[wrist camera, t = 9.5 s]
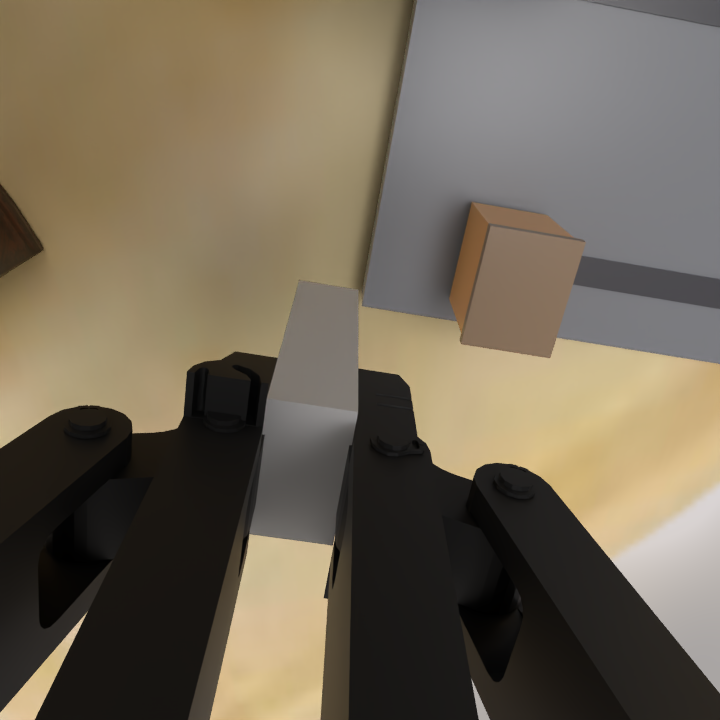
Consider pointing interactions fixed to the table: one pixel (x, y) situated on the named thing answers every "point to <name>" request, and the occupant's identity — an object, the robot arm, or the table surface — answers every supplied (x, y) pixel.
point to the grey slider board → (563, 159)
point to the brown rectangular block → (513, 280)
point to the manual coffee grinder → (14, 236)
